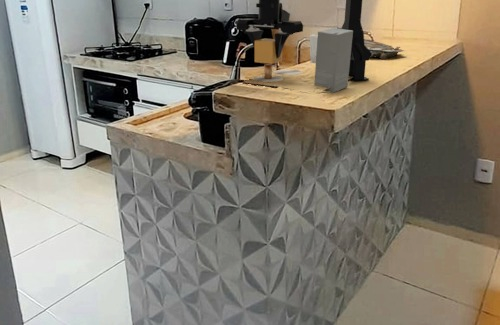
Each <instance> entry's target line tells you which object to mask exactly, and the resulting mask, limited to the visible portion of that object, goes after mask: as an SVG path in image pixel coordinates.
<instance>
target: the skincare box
mask: <svg viewBox="0 0 500 325" xmlns="http://www.w3.org/2000/svg"><path fill="white" fill-rule="evenodd" d="M338 28H339V27H337V28H336V27H333V28H330V29H329V28H327V29H323V30H319V31H317V34H318V39H317V54H316V63H315V67H314V68H315V69H314V70H315V72H314V82H313V83H314V84H313V86H317V87H323V88H326V89H323V90H322V92H328V93H336V92H338V91H341V90H343V89H346V88H348V87H349V86H348V84H349V81H348V79H349V77H350V76H349V67H350V57H351V47H352V37H353V30H345V29H338Z"/></svg>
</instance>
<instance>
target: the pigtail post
mask: <svg viewBox="0 0 500 325" xmlns="http://www.w3.org/2000/svg"><path fill="white" fill-rule="evenodd" d="M263 67H264V69H263V70H264V71H263V72H264V73H263V76H264V79H272V76H273V64H268V63H264V65H263Z"/></svg>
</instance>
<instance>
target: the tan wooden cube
mask: <svg viewBox="0 0 500 325" xmlns="http://www.w3.org/2000/svg"><path fill="white" fill-rule="evenodd" d="M283 52H284V50H283V49H282V52H281V55H280V57H279V58H276V49H275V38H266V37H265V38H261V39H260V40H255V48H254V63H260V64H271V65H273V64H277V63H280V62H283Z"/></svg>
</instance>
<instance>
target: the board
mask: <svg viewBox="0 0 500 325" xmlns="http://www.w3.org/2000/svg"><path fill="white" fill-rule="evenodd" d="M303 72H304V71H301V70H298V69H277V70H273V73H274V74H276V75H272V79H264V75H259V76H258V75H257V76H254V77H252V80H253V81H256V82H263V83H264V82H265V83H266V82H267V83H269V82H274V83H275V82H280V81H283V80H284V79H285V78H284V77H282V76H294V75H301V74H303ZM278 75H280V76H278ZM281 75H282V76H281ZM242 84H243V85H248V84H251V85H250V86H256V85H258V86H257V87H263V86H265V87H266V88H271V89H272V88H273V89H278V88H279V86H278V85H270V84H269V85H268V84H262V83H254V82H246V81H242ZM265 87H264V88H265Z"/></svg>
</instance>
